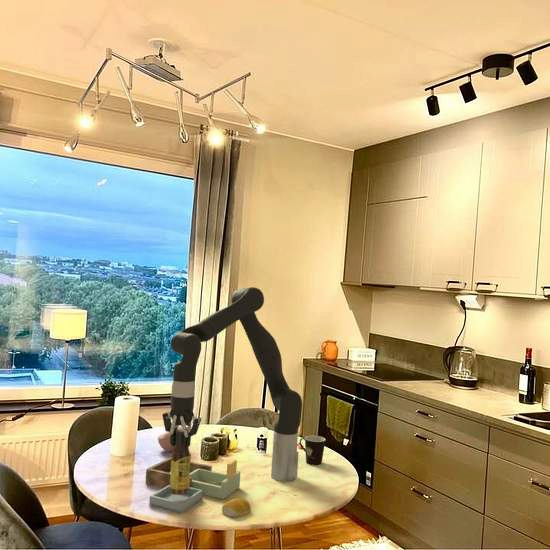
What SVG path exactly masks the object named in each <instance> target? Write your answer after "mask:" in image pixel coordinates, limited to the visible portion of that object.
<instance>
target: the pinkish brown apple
mask: <svg viewBox="0 0 550 550" xmlns="http://www.w3.org/2000/svg"><path fill="white" fill-rule="evenodd" d="M178 429H183V428H182V426H179V427H178ZM178 429H177V430H178ZM170 435H171V434H170V433H169V432H164V433H163V434H160V435H158V436H157V442H158V445H159V446H160V448H161V449H162V450H164V451H166V452H169V453H172V450H173V449H174V447H175V446H171V444H170Z"/></svg>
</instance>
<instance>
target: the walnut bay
mask: <svg viewBox="0 0 550 550" xmlns="http://www.w3.org/2000/svg"><path fill="white" fill-rule="evenodd" d="M171 459H172V456H171V457H169V458H166V459H165V460H162V461H160V462H158V463H156V464H154V465H152V466H150V467H148V468H146V469H145V472H146V473H145V484H146V483H147V484H146V485H150V486H156V487H158V486H159V487H160V488H162V489H163V488H165V487H166V486H168V485H170V475H171ZM198 468H200V469H205V470H209V471H213V467H212V465H209V464H205V463H204V464H203V463H198V462H194V461H190V473H191V472H193V471H194V470H196V469H198ZM169 472H170V473H169ZM159 487H158V488H159ZM189 487H192V478H190V482H189Z"/></svg>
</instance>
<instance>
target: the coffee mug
mask: <svg viewBox="0 0 550 550" xmlns="http://www.w3.org/2000/svg"><path fill="white" fill-rule="evenodd" d="M302 440H304V445H305V447H304V446H303V444H302ZM326 441H327V440H326V438H325V437H323V436H319V435H307V436H304V437H301V438H300V440H299V446H300V447H301V449H302V450H303V451H304V453H305V463H306V464H307V465H309V466H314V465H315V466H316V467H317V466H321V465H322V462H323V457H324V452H325V451H324V450H325V445H326Z"/></svg>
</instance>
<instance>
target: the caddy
mask: <svg viewBox="0 0 550 550" xmlns="http://www.w3.org/2000/svg"><path fill="white" fill-rule="evenodd" d="M237 464H238V460H237V459H233V460H231V461H229V462H228V463H226V473H222V472H218V471H215V470H212V471H209V470H205V469H200V468H198V469H196V470H194V471H193V472H191V473H190V478H192V487H191V488H196V489H200V490H203V495H205V496H209V497H214V498H218V499H221V500H224V499H226V498H227V497H228V496H230V495H232V493H234V492H235V491H236V490H238V489H239V488H240V486H241V485H240V484H241V470H240V471H239V470H237V466H238V465H237ZM199 480H202V481H203V482H202V481H199ZM204 481H205V482H204ZM206 481H207V482H211V483H207V482H206ZM212 483H214V484H212ZM217 484H219V485H217Z"/></svg>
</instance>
